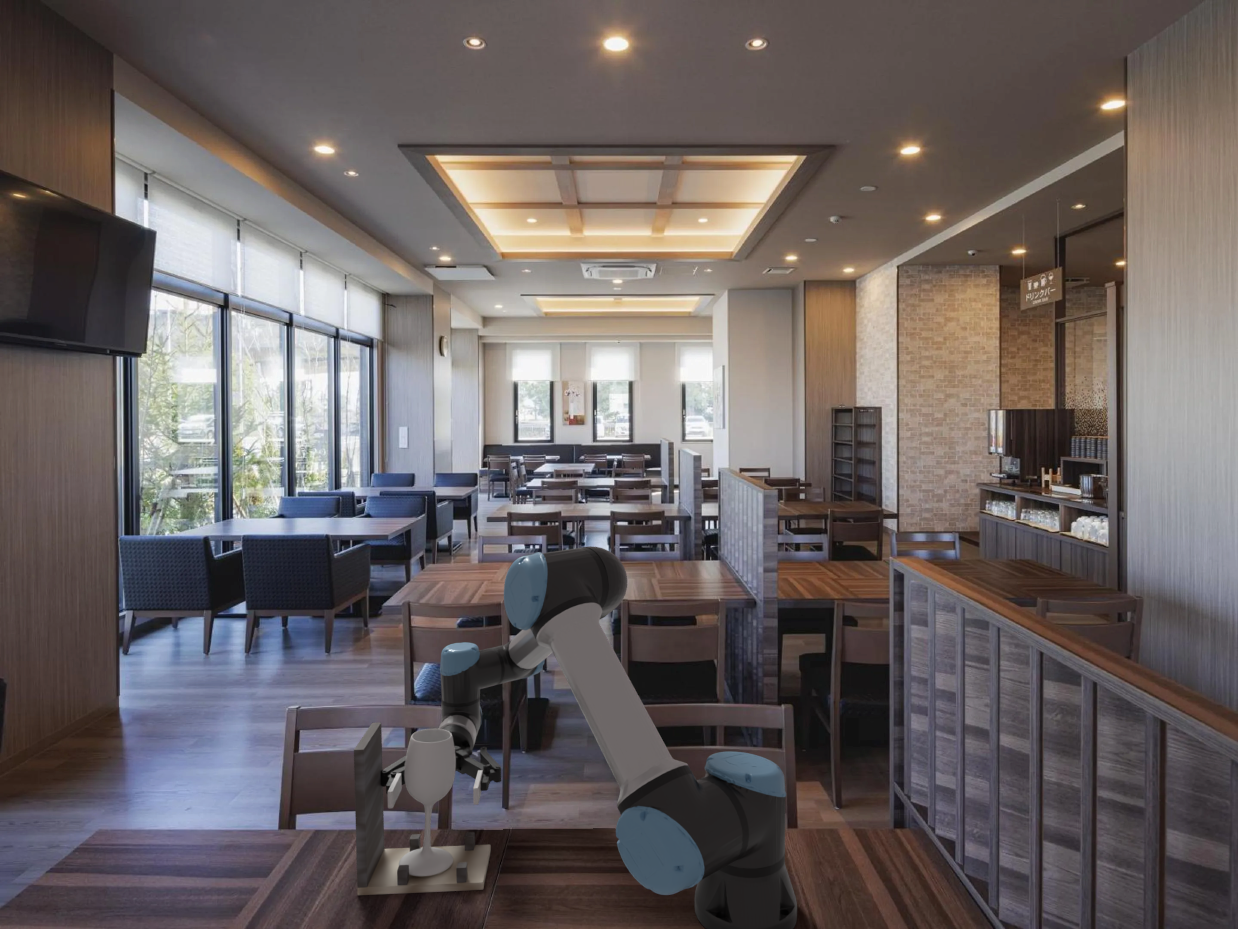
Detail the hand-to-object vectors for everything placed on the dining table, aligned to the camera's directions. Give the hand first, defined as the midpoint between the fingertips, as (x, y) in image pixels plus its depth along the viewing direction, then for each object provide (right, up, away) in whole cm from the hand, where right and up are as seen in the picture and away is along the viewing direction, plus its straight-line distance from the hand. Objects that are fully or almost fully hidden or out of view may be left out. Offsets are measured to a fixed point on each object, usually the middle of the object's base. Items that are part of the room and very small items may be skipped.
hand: (433, 798), depth 122 cm
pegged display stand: (-2, -14, +4) cm, 15 cm away
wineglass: (-2, -12, +4) cm, 13 cm away
